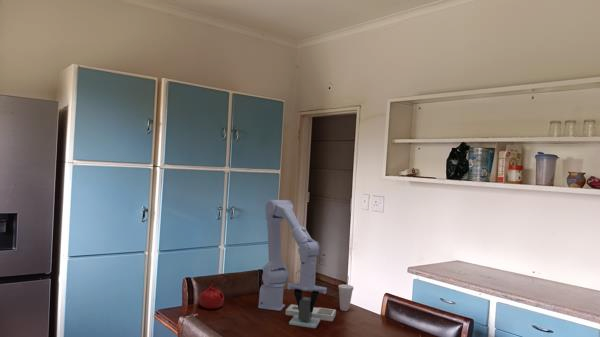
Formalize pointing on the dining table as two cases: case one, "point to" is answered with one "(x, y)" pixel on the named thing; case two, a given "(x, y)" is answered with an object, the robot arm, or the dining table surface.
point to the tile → (305, 322)
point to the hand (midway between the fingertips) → (305, 310)
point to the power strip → (316, 312)
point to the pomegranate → (211, 298)
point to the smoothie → (345, 296)
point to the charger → (305, 309)
